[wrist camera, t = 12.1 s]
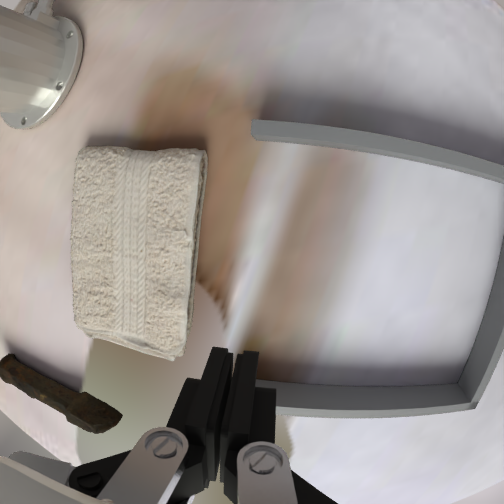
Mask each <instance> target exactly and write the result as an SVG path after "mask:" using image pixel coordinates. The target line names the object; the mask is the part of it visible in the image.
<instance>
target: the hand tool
mask: <svg viewBox="0 0 504 504" xmlns="http://www.w3.org/2000/svg"><path fill="white" fill-rule="evenodd" d="M0 377H1V379H2V380H3V381H4V382H6V383H9V384H13V385H14V386H16V387H17V388H18V389H20V390H22V391H23V392H24V393H26V394H27V395H28V396H30V397H31V398H36V399H37V400H39V401H41V402H43V403H45V404H47V405H49V406H50V407H52V408H54V409H56V410H57V411H59V412H61V413H63V414H64V415H65V416H66V418H67V421H68V422H70V423H72V424H74V425H76V426H78V427H80V428H82V429H83V430H86V431H88V432H93V433H95V434H98V433H104V432H106V431H107V430H109V429H111V428H112V427H114V426H116V425H117V424H118V423H119V421H120V420H121V418H122V416H123V415H122V414H121V413H120V412H119V411H117V410H116V409H115V408H113V407H111V406H110V405H108V404H107V403H105V402H103V401H101V400H99V399H97V398H95V397H94V396H92V395H90V394H89V393H87V392H82V393H78V392H74V391H72V390H70V389H68V388H66V387H64V386H63V385H60V384H58V383H57V382H56V381H53V380H50V379H48V378H46V377H45V376H43V375H41V374H39V373H37V372H36V371H34V370H32V369H30V368H29V367H27V366H25V365H24V364H22V363H20V362H18V361H17V360H16V359H15V355H14V354H10V353H9V354H8V355H6V356H5V357H4V358H2V359H1V361H0Z"/></svg>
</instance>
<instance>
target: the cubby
mask: <svg viewBox="0 0 504 504" xmlns="http://www.w3.org/2000/svg"><path fill="white" fill-rule="evenodd" d="M251 135H252V136H253V137H254V138H255V139H256V140H259V141H273V142H285V143H296V144H306V145H315V146H324V147H332V148H339V149H347V150H354V151H360V152H367V153H373V154H379V155H385V156H390V157H396V158H401V159H406V160H411V161H416V162H421V163H426V164H430V165H435V166H439V167H443V168H448V169H452V170H456V171H460V172H464V173H467V174H471V175H475V176H479V177H482V178H486V179H489V180H493V181H496V182H499V183H503V184H504V166H502V165H500V164H497V163H493V162H490V161H487V160H484V159H481V158H478V157H474V156H471V155H467V154H464V153H460V152H457V151H453V150H449V149H445V148H442V147H438V146H434V145H429V144H425V143H421V142H416V141H412V140H407V139H403V138H398V137H393V136H387V135H382V134H377V133H371V132H365V131H359V130H352V129H346V128H339V127H331V126H323V125H315V124H305V123H295V122H284V121H271V120H255V119H252V125H251ZM503 349H504V237H503V243H502V248H501V253H500V258H499V262H498V267H497V271H496V275H495V279H494V283H493V287H492V290H491V294H490V298H489V301H488V304H487V308H486V311H485V314H484V317H483V320H482V323H481V326H480V329H479V332H478V335H477V338H476V340H475V343H474V346H473V348H472V351H471V353H470V356H469V358H468V361H467V363H466V366H465V368H464V370H463V373H462V375H461V377H460V379H459V382H458V383H453V384H440V385H423V386H389V387H367V386H332V385H314V384H300V383H288V382H277V381H267V380H258V379H256V385H255V387H265V388H276V415H287V416H301V417H319V418H391V417H409V416H422V415H432V414H442V413H450V412H457V411H464V410H471V409H475V408H476V406H477V404H478V402H479V401H480V399H481V397H482V395H483V393H484V391H485V389H486V387H487V385H488V383H489V381H490V379H491V376H492V374H493V372H494V370H495V368H496V366H497V363H498V361H499V359H500V356H501V354H502V351H503Z"/></svg>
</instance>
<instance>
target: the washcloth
mask: <svg viewBox="0 0 504 504" xmlns="http://www.w3.org/2000/svg"><path fill="white" fill-rule="evenodd" d="M75 162H76V168H75V173H74V185H73V186H74V188H73V194H74V200H73V201H72V207H73V208H72V221H71V224H72V225H71V229H72V230H71V238H70V240H71V257H72V258H71V260H72V261H71V266H72V276H73V277H72V278H73V279H72V283H73V285H72V287H73V292H74V294H73V307H74V308H73V310H74V311H73V312H74V314H75V317H74V321H75V322H76V324H77V327H78V329H81V330H83V332H84V333H85V334H86V335H87V336H88V337H89V338H92V339H93V338H100V339H103V340H108V341H111V342H113V343H116V344H118V345H122V346H125V347H128V348H131V349H134V350H137V351H140V352H143V353H146V354H150V355H154V356H158V357H161V358H165V359H168V360H170V361H174V360H175V358H176V356H182V355H184V353H185V348H186V342H187V338H188V336H189V334H190V331H191V327H192V322H193V312H194V291H195V282H196V281H195V278H196V269H197V258H198V248H199V237H200V227H201V215H202V207H203V201H204V195H205V186H206V179H207V167H208V158H207V154H206V151H205V150H198V149H196V148H192V149H181V148H175V149H174V148H170V149H165V150H158V151H146V150H144V151H142V150H132V149H130V148H128V147H117V146H101V147H98V146H96V147H95V146H92V147H90V146H87V147H84V148H82V149H81V150H80V151H79V153H78V156H77V158H76V161H75Z"/></svg>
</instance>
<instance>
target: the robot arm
mask: <svg viewBox="0 0 504 504" xmlns="http://www.w3.org/2000/svg"><path fill="white" fill-rule="evenodd" d="M54 1H55V0H38V5H37V3H35V2H30V3H28V4H27V5H26V7H25V10H24V13H23V14H20V13H18V12H16V11H13V10H11V9H8V8H6V7H3V6H1V5H0V114H1V117H2V118H3V120H4V122H5V123H6V124H7V125H9V126H10V127H12V128H15V129H31V128H33V127H36V126H38V125H40V124H41V123H43V122H44V121H46V120H47V119H48V118H49V117H50V116H51V115H52V114H53V113H54V112H55V111H56V110H57V108H58V107H59V106H60V105H61V103H62V102H63V100H64V99H65V97H66V96H67V94H68V92H69V90H70V88H71V87H72V85H73V83H74V80H75V78H76V75H77V73H78V70H79V66H80V62H81V59H82V51H83V38H82V35H81V31H80V29H79V27H78V26H77V24H76V23H74V22H73V21H72V20H70V19H68V18H66V17H62V16H53V13H54V12H53V10H52V9H51V8H52V5H53V3H54ZM52 16H53V17H52ZM258 356H259V352H255V351H245V350H244V353H243V354H237V359H236V363H235V368H234V372H233V377H232V371H233V353H229V352H228V348H220V347H212V350H211V353H210V356H209V358H208V361H207V364H206V367H205V369H204V372H203V375H202V378H201V380H200V379H193V378H187V379H186V381H185V383H184V385H183V387H182V390H181V392H180V395H179V397H178V399H177V402H176V404H175V407H174V409H173V411H172V414H171V416H170V419H169V421H168V423H167V426H166V427H158V428H153V429H151V430H149V431H147V432H146V433H145V434H144V435H143V436H142V437H141V438H140V439H139V441H138V442H137V444H136V445H135V446H134V448H133V449H132V450H129V451H127V452H123V453H120V454H117V455H114V456H110V457H107V458H104V459H101V460H97V461H93V462H90V463H86V464H83V465H80V466H78V467H74V466H72V464H71V463H67V462H63V461H58V460H54V459H50V458H46V457H42V456H39V455H35V454H32V453H28V452H23V451H18V452H14V453H13V454H11V455H10V456H9V458H6V457H3V456H0V504H192V502H193V500H194V496H195V494H197V493H199V492H201V491H203V490H204V488H208V486H209V481H216V476H217V472H218V467H219V463H220V482H223V483H224V494H225V495H226V496H227V497H228V498H229V499H230V500H231V501H232V502H233V503H234V504H338V503H336V502H335V501H333V500H332V499H330V498H329V497H327V496H326V495H325V494H323V493H322V492H320V491H319V490H318V489H316V488H315V487H313V486H312V485H311V484H309V483H308V482H307V481H305V480H304V479H303V478H301V477H300V476H299V475H297V474H296V473H295V472H293V471H292V470H291V468H290V463H289V458H288V456H287V453H286V452H285V451H284V450H283V449H282V448H281V447H279V446H278V445H276V444H275V420H276V388H265V387H255V385H256V375H257V366H258Z"/></svg>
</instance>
